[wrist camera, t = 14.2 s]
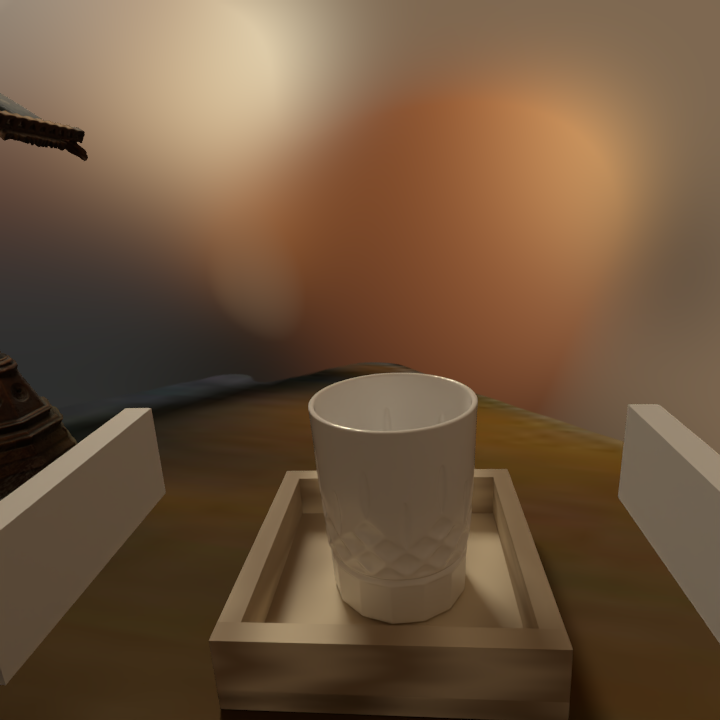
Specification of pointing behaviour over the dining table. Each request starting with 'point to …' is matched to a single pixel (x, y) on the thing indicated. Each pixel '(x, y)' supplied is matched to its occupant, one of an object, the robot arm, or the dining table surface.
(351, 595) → the white cup
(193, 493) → the dining table surface
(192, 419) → the dining table surface
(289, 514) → the birch crate
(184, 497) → the dining table surface
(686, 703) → the dining table surface
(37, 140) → the bird statue
